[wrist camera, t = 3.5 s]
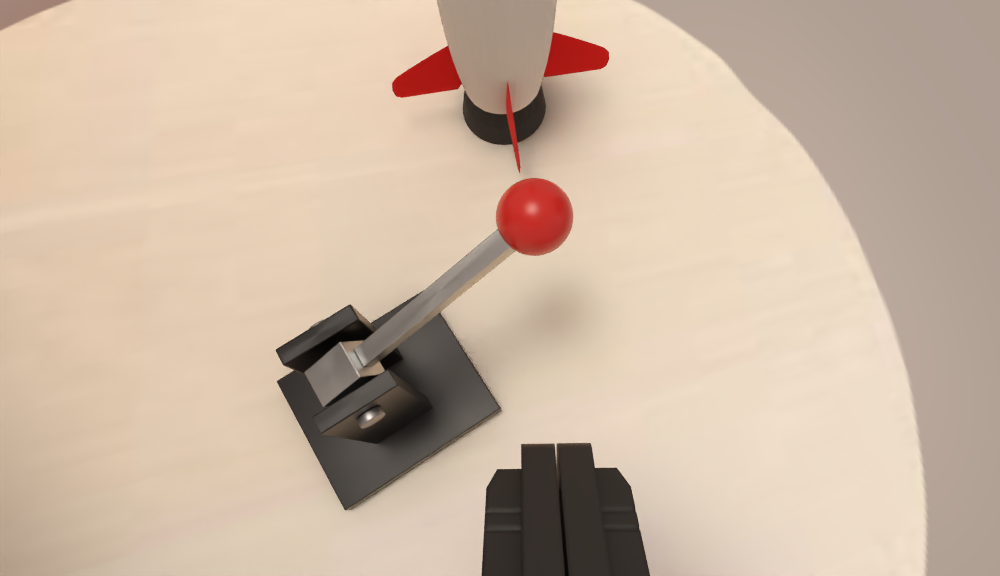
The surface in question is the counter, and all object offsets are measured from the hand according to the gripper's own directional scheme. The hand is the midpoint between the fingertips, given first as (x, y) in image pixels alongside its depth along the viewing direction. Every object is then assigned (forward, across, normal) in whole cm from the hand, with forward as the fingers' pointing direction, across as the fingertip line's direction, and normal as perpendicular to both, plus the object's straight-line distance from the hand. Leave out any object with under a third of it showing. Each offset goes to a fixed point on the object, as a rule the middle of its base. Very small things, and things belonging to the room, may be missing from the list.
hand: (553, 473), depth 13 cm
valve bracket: (+24, +10, +17) cm, 31 cm away
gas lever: (+18, +4, +6) cm, 19 cm away
